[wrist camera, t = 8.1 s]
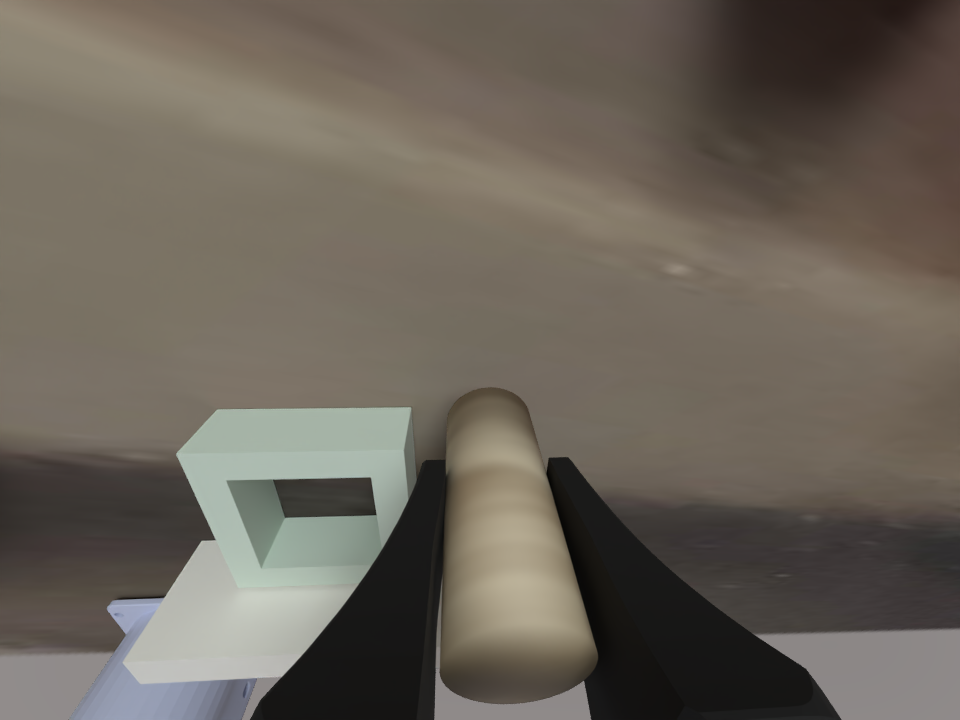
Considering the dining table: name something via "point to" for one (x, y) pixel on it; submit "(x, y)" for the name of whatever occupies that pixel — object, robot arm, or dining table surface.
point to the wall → (233, 625)
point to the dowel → (506, 563)
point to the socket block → (299, 455)
